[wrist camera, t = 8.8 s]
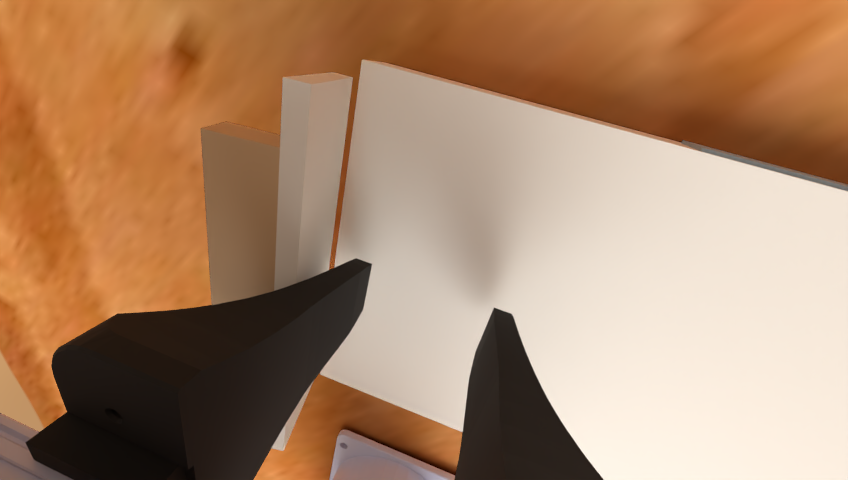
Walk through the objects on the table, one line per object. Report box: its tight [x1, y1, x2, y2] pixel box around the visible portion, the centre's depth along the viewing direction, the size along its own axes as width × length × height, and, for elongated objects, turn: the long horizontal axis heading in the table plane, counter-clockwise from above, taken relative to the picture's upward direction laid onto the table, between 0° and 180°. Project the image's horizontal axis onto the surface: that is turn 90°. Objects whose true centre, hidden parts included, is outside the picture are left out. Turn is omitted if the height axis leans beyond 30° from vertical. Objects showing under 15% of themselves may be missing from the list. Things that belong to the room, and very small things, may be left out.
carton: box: [320, 59, 848, 480], centre depth 13 cm, size 14×22×2 cm, turn 77°
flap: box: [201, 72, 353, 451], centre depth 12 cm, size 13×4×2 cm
